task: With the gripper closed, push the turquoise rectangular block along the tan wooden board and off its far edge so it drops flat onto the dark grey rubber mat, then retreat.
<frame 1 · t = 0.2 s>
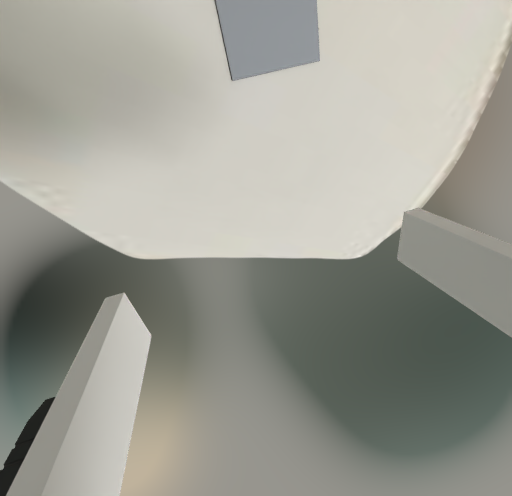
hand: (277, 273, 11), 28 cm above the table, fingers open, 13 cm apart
mat: (270, 25, 28), on the table
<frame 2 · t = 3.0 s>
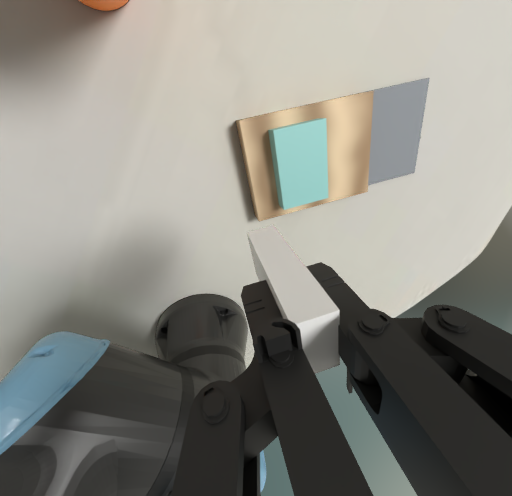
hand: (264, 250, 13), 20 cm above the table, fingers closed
turquoise rectangular block: (297, 164, 29), point 2 cm above the table, touching tan wooden board
mat: (391, 136, 32), on the table
tan wooden board: (303, 158, 31), on the table
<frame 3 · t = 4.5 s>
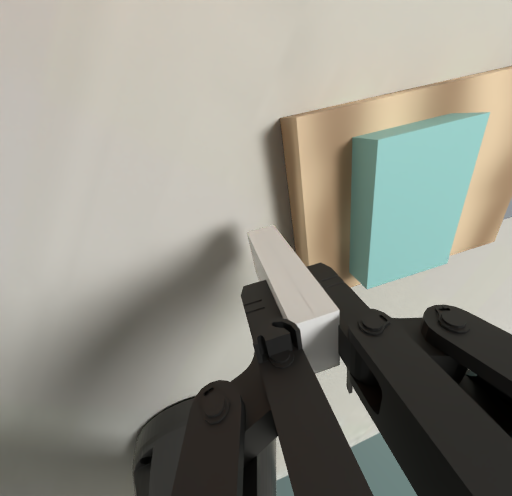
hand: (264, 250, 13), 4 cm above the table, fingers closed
turquoise rectangular block: (393, 203, 15), point 2 cm above the table, touching tan wooden board
tan wooden board: (392, 186, 17), on the table
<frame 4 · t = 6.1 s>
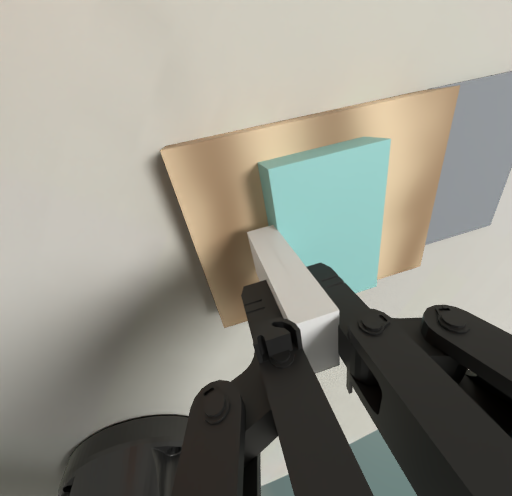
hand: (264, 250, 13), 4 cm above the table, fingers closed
turquoise rectangular block: (316, 225, 14), point 3 cm above the table, touching gripper
mat: (463, 169, 18), on the table
tan wooden board: (308, 211, 17), on the table
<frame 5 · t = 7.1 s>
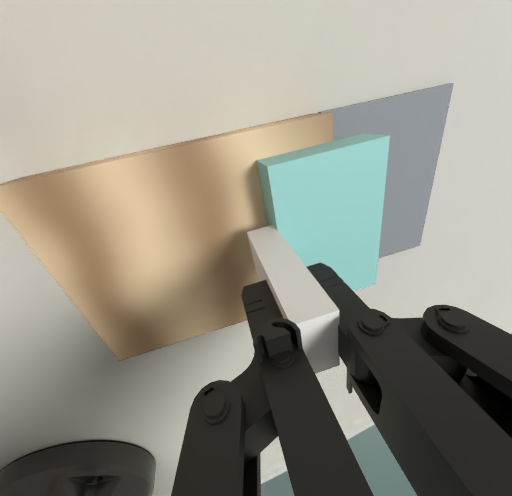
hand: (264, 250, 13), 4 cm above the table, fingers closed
turquoise rectangular block: (315, 223, 14), point 3 cm above the table, touching gripper
mat: (377, 191, 17), on the table
tan wooden board: (207, 237, 16), on the table
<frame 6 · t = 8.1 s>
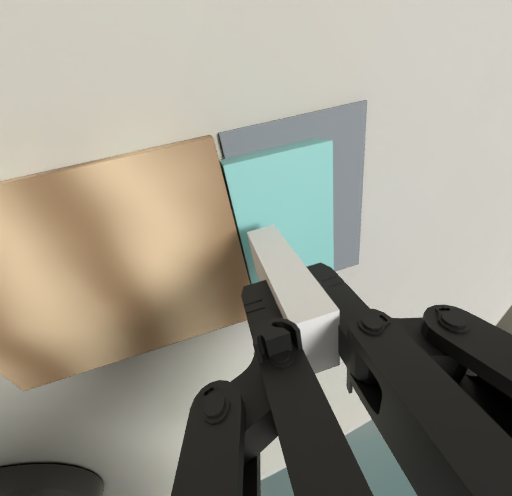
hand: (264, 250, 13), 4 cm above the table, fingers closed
turquoise rectangular block: (278, 218, 16), resting on mat
mat: (302, 211, 17), on the table
tan wooden board: (115, 262, 15), on the table
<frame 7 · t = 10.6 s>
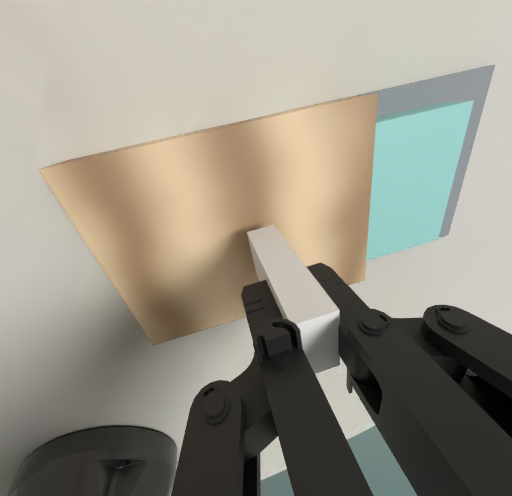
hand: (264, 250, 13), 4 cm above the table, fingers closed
turquoise rectangular block: (390, 183, 17), resting on mat
mat: (410, 178, 17), on the table
tan wooden board: (240, 224, 16), on the table
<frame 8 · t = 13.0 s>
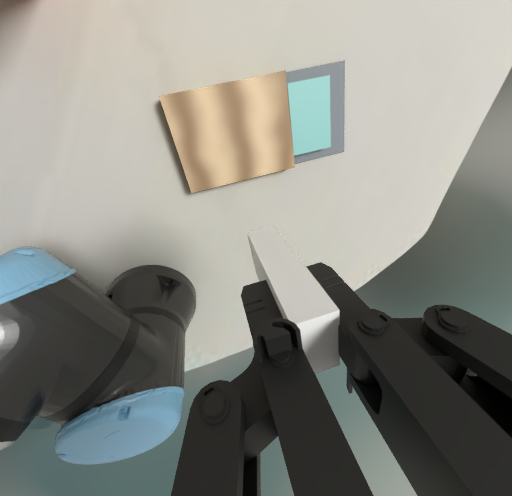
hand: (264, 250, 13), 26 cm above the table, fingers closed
turquoise rectangular block: (305, 117, 35), resting on mat
mat: (315, 116, 35), on the table
tan wooden board: (232, 135, 34), on the table
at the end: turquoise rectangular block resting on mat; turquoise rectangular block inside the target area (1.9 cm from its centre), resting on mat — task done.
